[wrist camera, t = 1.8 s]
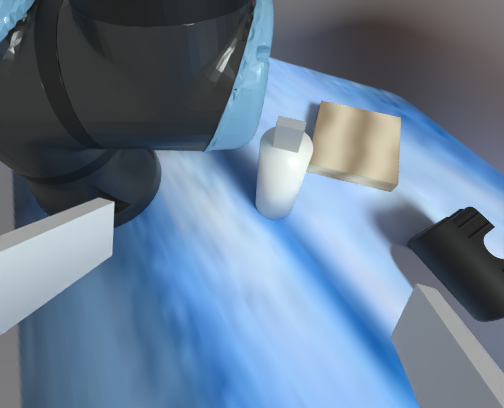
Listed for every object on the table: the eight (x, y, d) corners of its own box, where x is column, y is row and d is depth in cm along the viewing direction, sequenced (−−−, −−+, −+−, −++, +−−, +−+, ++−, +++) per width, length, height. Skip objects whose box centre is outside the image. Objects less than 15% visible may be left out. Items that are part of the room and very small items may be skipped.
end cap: (394, 250, 34) (427, 231, 28) (433, 222, 36) (471, 198, 30) (459, 324, 30) (513, 321, 24) (499, 289, 32) (558, 278, 26)
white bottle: (251, 214, 35) (254, 139, 22) (260, 182, 38) (269, 96, 24) (288, 224, 35) (315, 153, 21) (296, 191, 37) (325, 108, 24)
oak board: (304, 171, 39) (307, 163, 37) (318, 110, 44) (321, 100, 42) (390, 191, 37) (398, 184, 36) (394, 126, 43) (400, 117, 41)
